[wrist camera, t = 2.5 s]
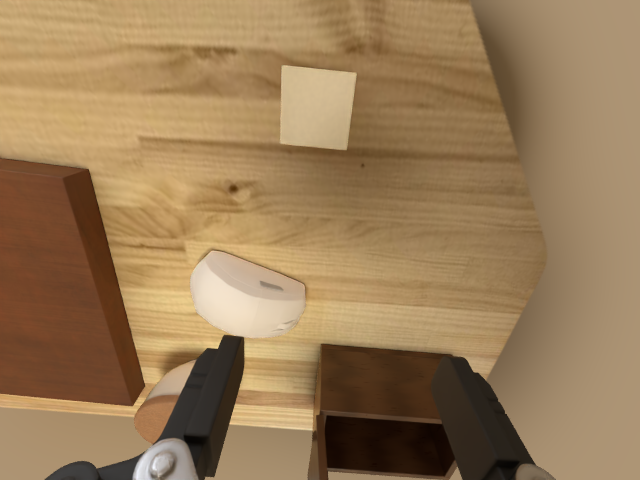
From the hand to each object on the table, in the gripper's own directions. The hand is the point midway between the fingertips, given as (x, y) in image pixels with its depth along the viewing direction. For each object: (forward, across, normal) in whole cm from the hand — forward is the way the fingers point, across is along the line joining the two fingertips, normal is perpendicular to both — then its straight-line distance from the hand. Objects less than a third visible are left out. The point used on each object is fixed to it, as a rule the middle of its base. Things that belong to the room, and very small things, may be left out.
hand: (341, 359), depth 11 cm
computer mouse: (+19, +8, +12) cm, 24 cm away
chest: (+19, -10, +26) cm, 34 cm away
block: (+19, +2, -8) cm, 21 cm away
